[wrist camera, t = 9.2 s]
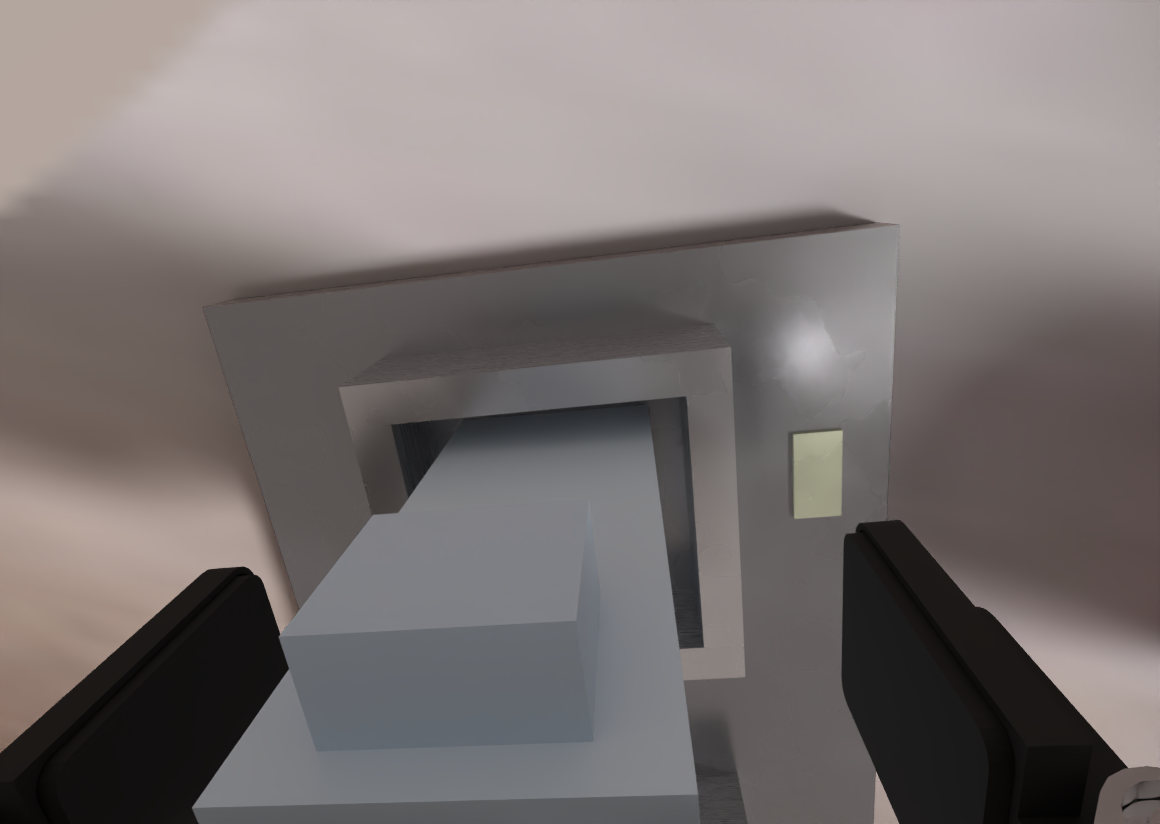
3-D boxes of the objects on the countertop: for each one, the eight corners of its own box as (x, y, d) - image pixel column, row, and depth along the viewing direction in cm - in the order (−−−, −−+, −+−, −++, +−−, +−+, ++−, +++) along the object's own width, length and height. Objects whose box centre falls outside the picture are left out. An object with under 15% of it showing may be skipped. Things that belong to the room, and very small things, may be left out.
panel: (854, 943, 20) (894, 1069, 17) (427, 947, 21) (397, 1064, 18) (878, 222, 12) (954, 230, 10) (231, 299, 14) (131, 327, 11)
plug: (661, 566, 14) (719, 1106, 6) (492, 578, 15) (316, 1099, 6) (643, 348, 13) (689, 661, 4) (452, 366, 13) (141, 687, 5)
